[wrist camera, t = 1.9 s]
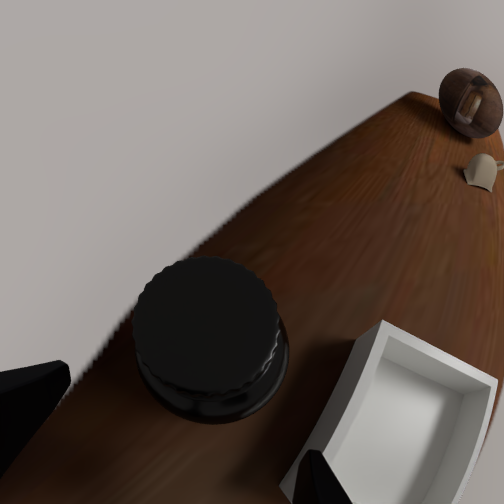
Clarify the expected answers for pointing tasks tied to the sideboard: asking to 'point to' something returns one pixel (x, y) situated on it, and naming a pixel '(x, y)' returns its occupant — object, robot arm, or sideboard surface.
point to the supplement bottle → (209, 340)
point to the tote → (401, 422)
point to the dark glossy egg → (470, 103)
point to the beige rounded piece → (482, 171)
